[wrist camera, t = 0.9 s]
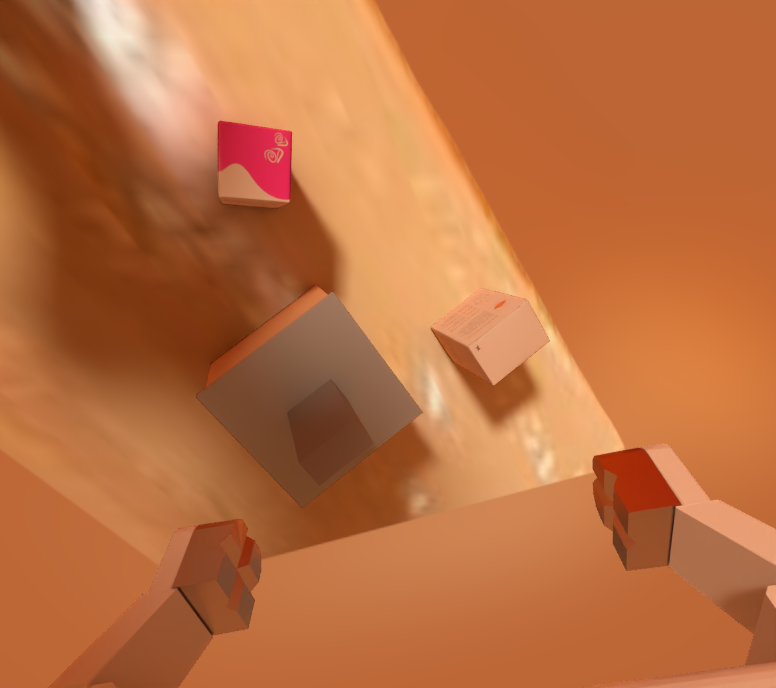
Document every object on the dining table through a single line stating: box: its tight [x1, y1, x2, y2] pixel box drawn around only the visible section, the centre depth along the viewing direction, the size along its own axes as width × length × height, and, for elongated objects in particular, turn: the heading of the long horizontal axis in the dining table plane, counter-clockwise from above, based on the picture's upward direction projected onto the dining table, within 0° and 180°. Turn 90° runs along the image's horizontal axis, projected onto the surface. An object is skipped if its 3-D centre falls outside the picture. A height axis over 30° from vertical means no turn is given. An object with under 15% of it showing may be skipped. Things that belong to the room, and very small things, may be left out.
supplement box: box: [218, 121, 292, 208], centre depth 44 cm, size 6×6×12 cm
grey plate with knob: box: [196, 292, 423, 508], centre depth 41 cm, size 15×15×11 cm
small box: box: [431, 288, 550, 386], centre depth 55 cm, size 8×6×10 cm
